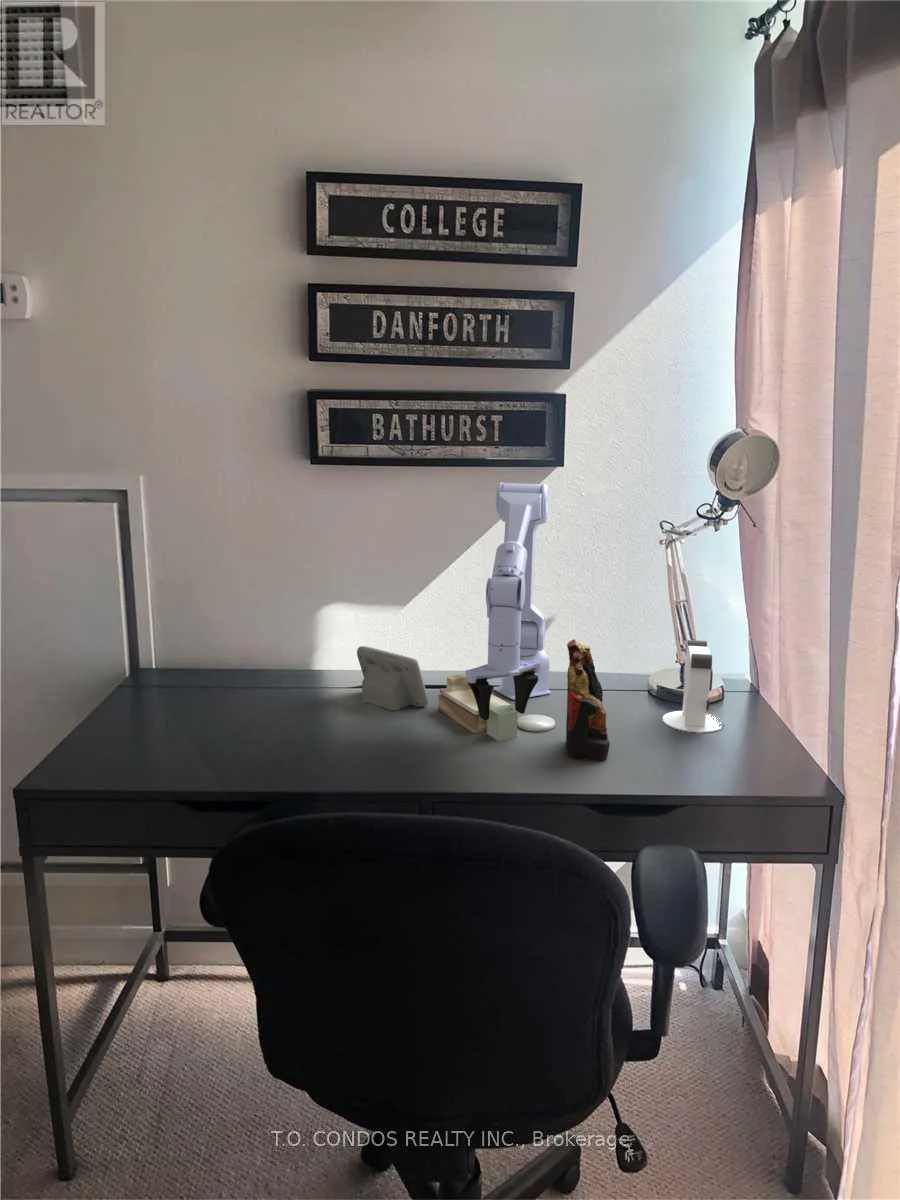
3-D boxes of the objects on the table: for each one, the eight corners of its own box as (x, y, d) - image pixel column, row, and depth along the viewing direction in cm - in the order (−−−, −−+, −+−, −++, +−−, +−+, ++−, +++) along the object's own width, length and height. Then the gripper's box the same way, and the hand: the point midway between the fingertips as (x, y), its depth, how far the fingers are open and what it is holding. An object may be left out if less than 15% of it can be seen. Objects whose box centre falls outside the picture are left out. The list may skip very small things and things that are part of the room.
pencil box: (473, 704, 180) (474, 688, 179) (511, 726, 168) (511, 710, 167) (438, 710, 176) (438, 694, 175) (474, 733, 164) (474, 716, 164)
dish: (540, 716, 173) (541, 712, 173) (562, 728, 167) (562, 724, 167) (510, 722, 170) (510, 718, 170) (530, 734, 164) (530, 730, 164)
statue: (608, 764, 152) (614, 650, 147) (561, 760, 153) (565, 647, 148) (609, 737, 163) (615, 631, 159) (565, 734, 165) (569, 628, 160)
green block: (505, 730, 166) (505, 704, 165) (516, 737, 163) (517, 711, 162) (486, 733, 164) (487, 707, 163) (498, 741, 161) (498, 714, 160)
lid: (473, 687, 179) (473, 671, 178) (511, 708, 167) (511, 691, 166) (439, 693, 176) (439, 676, 175) (475, 715, 164) (476, 697, 163)
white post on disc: (727, 736, 164) (734, 657, 161) (664, 732, 166) (669, 654, 163) (720, 714, 176) (726, 640, 173) (660, 710, 178) (665, 637, 174)
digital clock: (432, 708, 178) (433, 656, 175) (395, 717, 172) (395, 664, 170) (385, 687, 190) (385, 638, 187) (349, 695, 184) (348, 645, 182)
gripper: (480, 652, 153) (478, 728, 156) (550, 643, 160) (547, 715, 163) (460, 643, 159) (458, 715, 162) (528, 634, 166) (526, 704, 169)
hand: (502, 715), depth 163 cm, fingers open, 7 cm apart
